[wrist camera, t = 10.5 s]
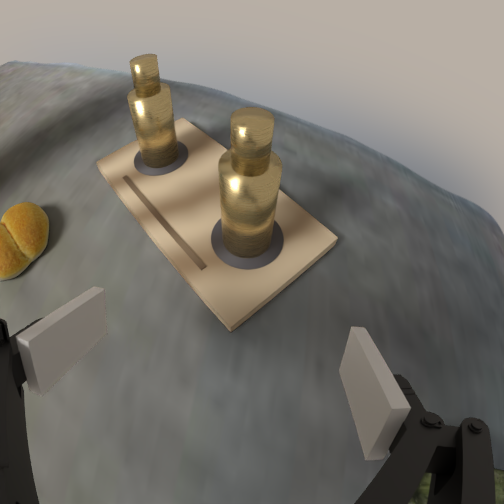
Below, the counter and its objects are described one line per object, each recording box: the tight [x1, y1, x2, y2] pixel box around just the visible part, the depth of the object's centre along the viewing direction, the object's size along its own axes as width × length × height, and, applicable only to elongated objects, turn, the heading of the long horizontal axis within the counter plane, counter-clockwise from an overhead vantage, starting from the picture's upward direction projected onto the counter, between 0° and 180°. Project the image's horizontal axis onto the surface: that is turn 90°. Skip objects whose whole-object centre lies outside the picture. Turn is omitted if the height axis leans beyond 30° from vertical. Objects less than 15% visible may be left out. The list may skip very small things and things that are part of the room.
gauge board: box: [96, 118, 338, 332], centre depth 29 cm, size 24×12×1 cm, turn 42°
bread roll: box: [0, 202, 49, 281], centre depth 24 cm, size 8×9×4 cm
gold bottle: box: [127, 54, 179, 168], centre depth 26 cm, size 4×4×12 cm
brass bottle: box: [218, 107, 282, 258], centre depth 21 cm, size 4×4×12 cm
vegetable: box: [408, 469, 504, 504], centre depth 13 cm, size 14×5×5 cm, turn 62°
